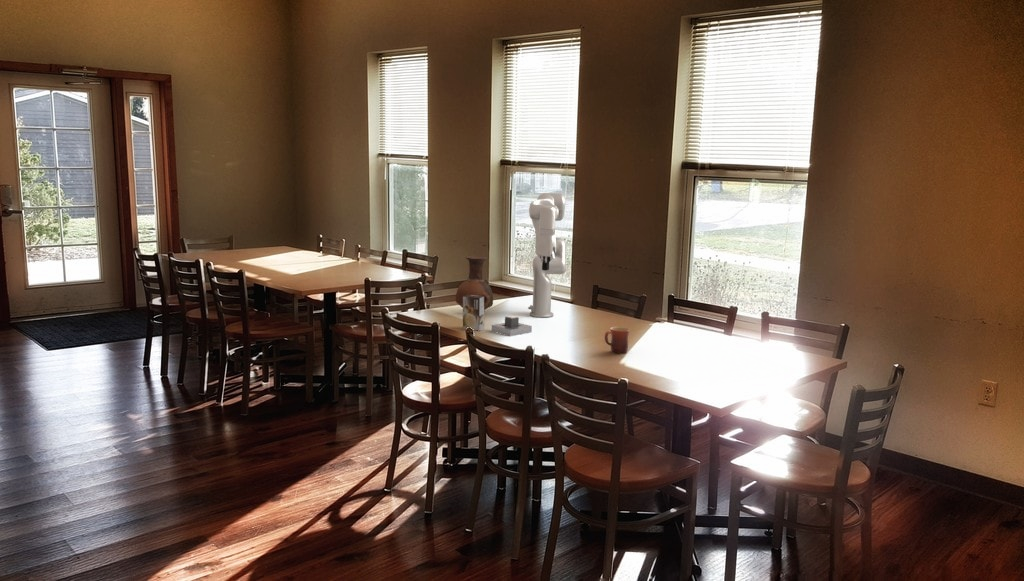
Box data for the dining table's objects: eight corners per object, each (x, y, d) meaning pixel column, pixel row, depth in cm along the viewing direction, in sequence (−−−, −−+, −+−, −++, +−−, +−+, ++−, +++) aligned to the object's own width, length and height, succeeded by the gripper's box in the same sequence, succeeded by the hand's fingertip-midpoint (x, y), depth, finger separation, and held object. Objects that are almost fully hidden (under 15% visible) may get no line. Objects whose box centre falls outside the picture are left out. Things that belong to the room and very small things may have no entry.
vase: (504, 315, 414) (505, 258, 409) (474, 320, 401) (475, 261, 396) (473, 308, 432) (474, 253, 427) (444, 312, 419) (445, 255, 414)
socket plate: (491, 331, 377) (491, 323, 377) (512, 327, 387) (512, 320, 386) (510, 336, 368) (510, 328, 367) (531, 332, 378) (531, 324, 377)
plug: (504, 331, 378) (505, 316, 376) (511, 330, 381) (512, 315, 379) (511, 333, 374) (511, 317, 373) (518, 332, 377) (518, 316, 376)
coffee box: (484, 328, 382) (485, 295, 380) (479, 331, 377) (480, 297, 374) (467, 326, 386) (468, 294, 383) (461, 329, 380) (462, 296, 377)
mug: (621, 348, 350) (622, 326, 348) (633, 353, 342) (634, 330, 340) (598, 351, 344) (599, 328, 342) (610, 356, 337) (611, 332, 335)
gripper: (530, 231, 383) (529, 268, 386) (552, 234, 372) (551, 273, 375) (541, 230, 388) (540, 267, 391) (563, 233, 377) (562, 271, 380)
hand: (545, 270), depth 383 cm, fingers closed
